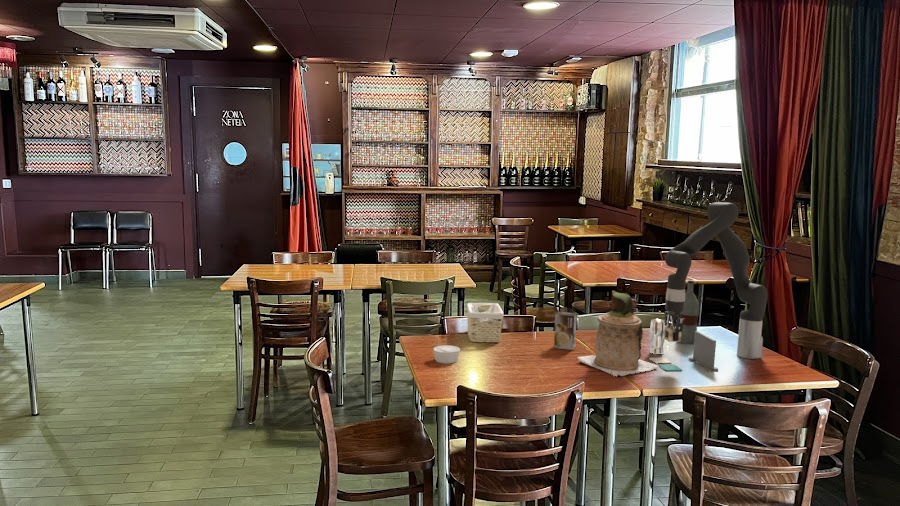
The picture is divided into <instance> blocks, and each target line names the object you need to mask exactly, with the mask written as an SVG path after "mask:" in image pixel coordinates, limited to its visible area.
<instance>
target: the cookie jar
mask: <svg viewBox="0 0 900 506" xmlns="http://www.w3.org/2000/svg"><path fill="white" fill-rule="evenodd" d="M610 302H611V305H612V310H610V311H608V312H606V313H604V314H600V315H598V316H597V322H598V329H597V335H596V339H595V343H594V344H595V345H594V348H595V349H594V352H595V355H587V356H586V355H585V356H577V359H578V364H579V363H583V364H585V365H587V366H590V367H592V368H595V369H597V370H600V371H602V372H605V373H607V374H609V375H610V374H611V375H610V376H612V375H613V377H615V376H616V377H615V378H617V377H618V376H620V377H624V376H625V377H626V376H627V375H636V374H640V372H641V373H646V372H652V371H651V370H653V371H655V370H654V369H656V370H657V369H658V364H655V363H651V362H649V361H645V360H642V359H641V357H642V353H641V350H642V339H643V334H644V330H643V321H642V320H641V319H642V318H639V317H638V316H637V315H636V314H634V309H636V308H637V304H638V302H637V299H635V298H632V297H631V296H630V295H629V294H628V293H621V292H617V291H616V290H612V291H611V300H610ZM645 371H646V372H645ZM635 373H636V374H635Z"/></svg>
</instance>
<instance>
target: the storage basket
mask: <svg viewBox="0 0 900 506" xmlns="http://www.w3.org/2000/svg"><path fill="white" fill-rule="evenodd" d="M466 310H467V334H468V338H469V341H470V342H473V343H500V341H501V336H502V333H501V332H502V324H503V321H504V311H503V309H502V308H501V306H500V304H499V303H498V302H468V303H467V305H466ZM479 310H484V311H481V312H480V311H479Z"/></svg>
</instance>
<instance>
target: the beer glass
mask: <svg viewBox="0 0 900 506" xmlns="http://www.w3.org/2000/svg"><path fill="white" fill-rule="evenodd" d="M649 325H650V327H649V337H650V349H649V353H650V354H652V353H653V355H656V354H662V355H663V353H664V343H665V339H664V331H665V327H666V326H665V319H659V318H652V319H651V320H650V324H649Z"/></svg>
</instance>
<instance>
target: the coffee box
mask: <svg viewBox="0 0 900 506" xmlns="http://www.w3.org/2000/svg"><path fill="white" fill-rule="evenodd" d="M577 316H578V315H577V313H576V312H575V313H574V312H567V311H556V313H555V315H554V336H553V337H554V338H553V339H554V340H553V348H554V349H561V350H568V351H569V350H570V351H573V350H575V349H576V342H577V341H576V337H577V318H578V317H577Z"/></svg>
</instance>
